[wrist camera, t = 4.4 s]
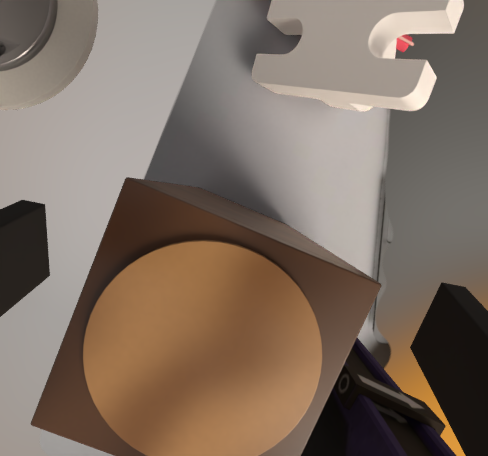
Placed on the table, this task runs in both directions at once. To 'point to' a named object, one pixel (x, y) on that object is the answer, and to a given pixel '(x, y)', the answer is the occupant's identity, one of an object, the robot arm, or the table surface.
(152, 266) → the brown square coaster
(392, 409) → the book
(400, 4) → the white slotted bracket
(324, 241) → the table surface
